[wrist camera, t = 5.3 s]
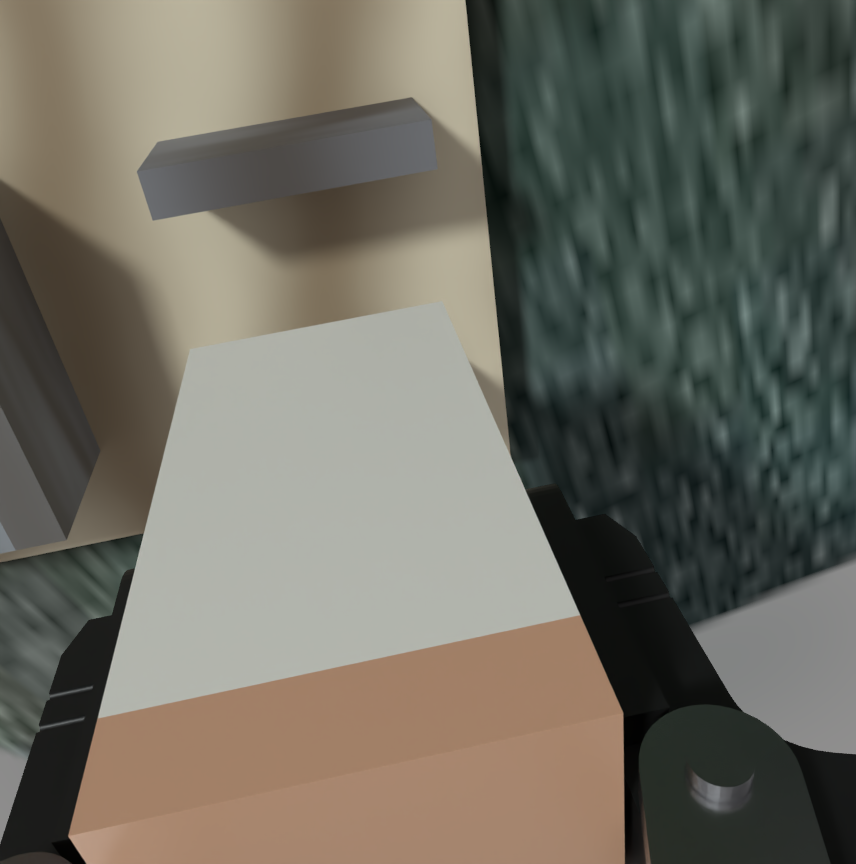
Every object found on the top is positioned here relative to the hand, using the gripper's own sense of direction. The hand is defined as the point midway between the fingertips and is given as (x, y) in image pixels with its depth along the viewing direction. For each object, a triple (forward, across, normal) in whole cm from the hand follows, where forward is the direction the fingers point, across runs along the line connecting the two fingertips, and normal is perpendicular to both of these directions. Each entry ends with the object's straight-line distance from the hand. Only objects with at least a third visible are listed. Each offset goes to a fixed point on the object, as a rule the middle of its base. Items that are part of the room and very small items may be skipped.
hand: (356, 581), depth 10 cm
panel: (+14, +6, 0) cm, 15 cm away
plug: (+4, 0, 0) cm, 4 cm away
